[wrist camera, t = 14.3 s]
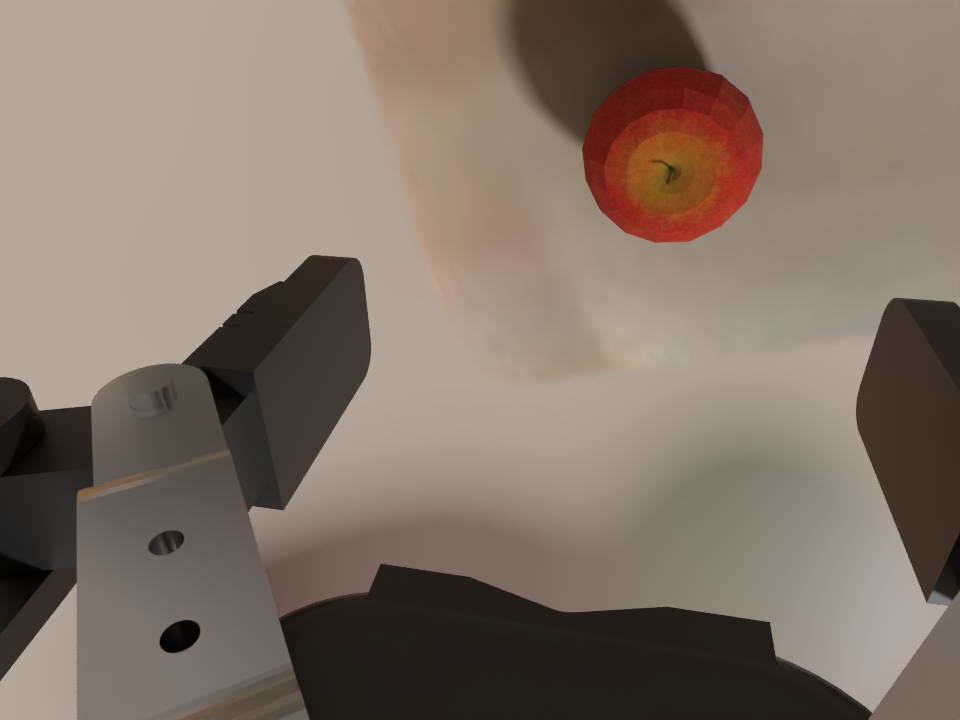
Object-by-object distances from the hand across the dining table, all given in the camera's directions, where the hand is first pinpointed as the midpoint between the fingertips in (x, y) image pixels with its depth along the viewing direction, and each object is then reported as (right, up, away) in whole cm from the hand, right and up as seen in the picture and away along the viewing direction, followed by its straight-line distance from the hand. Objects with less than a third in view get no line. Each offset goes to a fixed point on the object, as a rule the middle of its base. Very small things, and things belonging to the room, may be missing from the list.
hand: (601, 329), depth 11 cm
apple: (+8, +11, +25) cm, 29 cm away
